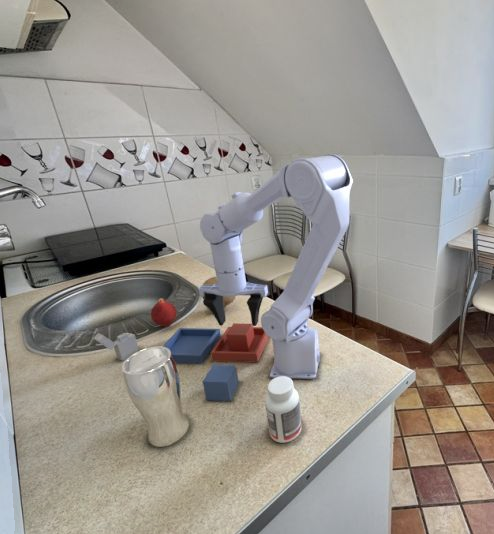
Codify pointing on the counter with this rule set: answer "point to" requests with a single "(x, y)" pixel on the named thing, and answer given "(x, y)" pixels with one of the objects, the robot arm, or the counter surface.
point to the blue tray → (192, 344)
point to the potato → (225, 299)
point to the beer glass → (156, 394)
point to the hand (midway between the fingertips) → (239, 323)
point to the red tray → (253, 355)
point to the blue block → (221, 382)
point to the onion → (163, 313)
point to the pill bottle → (283, 410)
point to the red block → (240, 337)
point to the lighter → (120, 344)
